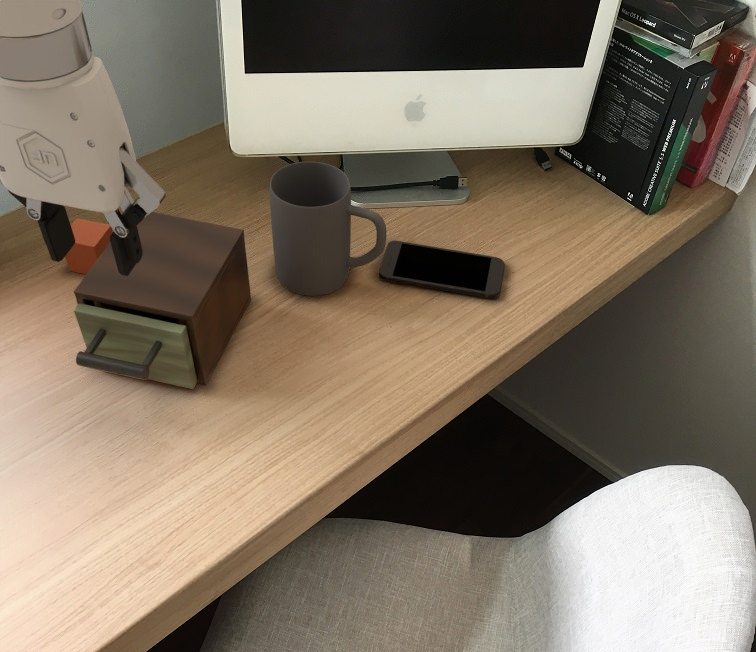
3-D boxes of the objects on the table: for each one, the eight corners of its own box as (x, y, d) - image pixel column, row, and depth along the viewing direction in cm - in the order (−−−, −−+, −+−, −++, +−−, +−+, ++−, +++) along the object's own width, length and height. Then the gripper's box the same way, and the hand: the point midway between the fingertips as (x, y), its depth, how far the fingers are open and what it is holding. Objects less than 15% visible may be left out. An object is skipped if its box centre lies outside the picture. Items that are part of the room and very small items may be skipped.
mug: (263, 287, 94) (255, 197, 84) (291, 243, 99) (286, 153, 89) (371, 314, 92) (375, 225, 82) (394, 267, 97) (400, 179, 88)
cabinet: (205, 385, 84) (192, 316, 77) (97, 361, 86) (73, 291, 78) (251, 299, 93) (243, 229, 85) (151, 279, 94) (135, 208, 86)
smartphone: (498, 300, 94) (500, 294, 94) (376, 280, 96) (377, 274, 95) (505, 263, 99) (506, 257, 98) (388, 244, 100) (388, 238, 99)
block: (69, 271, 94) (59, 239, 91) (86, 249, 97) (76, 217, 93) (103, 278, 94) (94, 246, 90) (119, 255, 96) (111, 224, 93)
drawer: (175, 423, 80) (161, 367, 74) (71, 399, 81) (49, 343, 75) (237, 307, 90) (230, 250, 84) (145, 288, 92) (131, 231, 85)
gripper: (-112, 45, 53) (-15, 266, 68) (125, 88, 51) (172, 305, 66) (-50, 0, 57) (29, 216, 72) (171, 37, 56) (205, 252, 70)
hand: (97, 257), depth 69 cm, fingers open, 5 cm apart
